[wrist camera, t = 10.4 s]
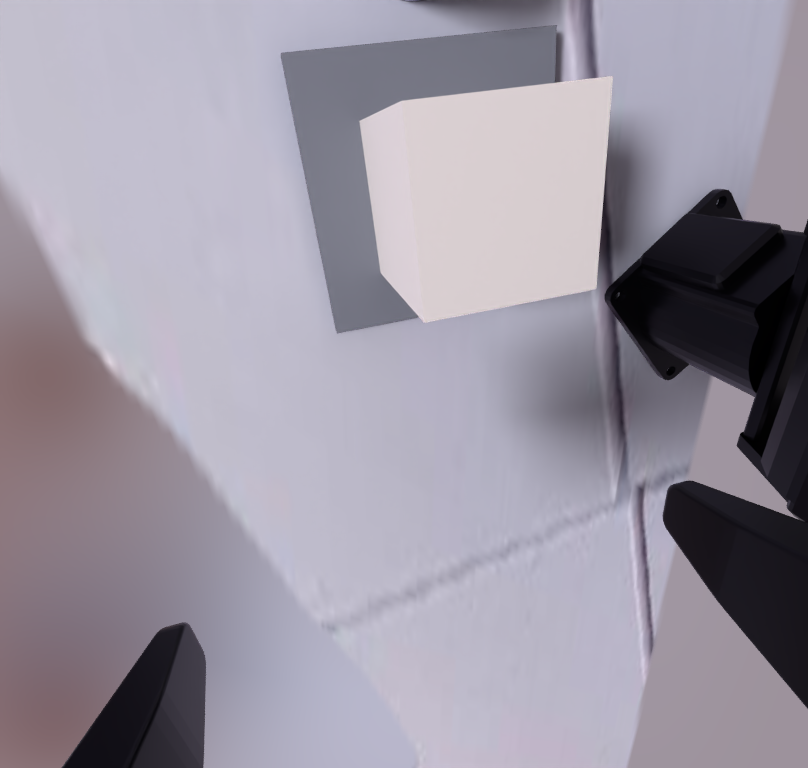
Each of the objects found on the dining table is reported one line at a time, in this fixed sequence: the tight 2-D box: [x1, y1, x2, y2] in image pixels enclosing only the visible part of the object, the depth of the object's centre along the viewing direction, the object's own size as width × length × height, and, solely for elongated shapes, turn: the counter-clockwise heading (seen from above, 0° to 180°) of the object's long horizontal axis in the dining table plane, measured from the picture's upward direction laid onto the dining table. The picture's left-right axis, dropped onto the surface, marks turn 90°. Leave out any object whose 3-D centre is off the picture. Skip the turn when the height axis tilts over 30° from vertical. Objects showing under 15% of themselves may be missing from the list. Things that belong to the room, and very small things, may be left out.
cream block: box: [359, 76, 613, 323], centre depth 14 cm, size 5×5×6 cm
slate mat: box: [281, 25, 557, 333], centre depth 17 cm, size 9×9×1 cm
